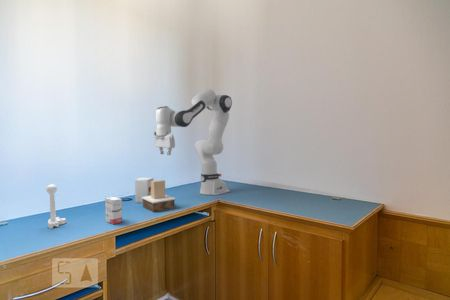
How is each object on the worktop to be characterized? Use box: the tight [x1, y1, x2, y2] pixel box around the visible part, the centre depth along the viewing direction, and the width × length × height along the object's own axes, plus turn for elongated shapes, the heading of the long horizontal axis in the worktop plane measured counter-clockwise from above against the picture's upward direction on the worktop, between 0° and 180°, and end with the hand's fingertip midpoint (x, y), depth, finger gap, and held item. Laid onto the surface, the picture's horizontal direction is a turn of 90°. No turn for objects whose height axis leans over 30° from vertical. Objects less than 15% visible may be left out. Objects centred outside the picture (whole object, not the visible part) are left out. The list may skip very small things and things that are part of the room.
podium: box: [142, 194, 176, 213], centre depth 172 cm, size 14×16×6 cm
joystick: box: [45, 184, 67, 230], centre depth 142 cm, size 11×8×20 cm
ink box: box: [104, 196, 123, 225], centre depth 146 cm, size 9×5×12 cm, turn 48°
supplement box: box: [134, 177, 155, 204], centre depth 187 cm, size 9×9×15 cm
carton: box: [151, 179, 166, 199], centre depth 171 cm, size 7×4×10 cm, turn 128°
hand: (165, 154), depth 182 cm, fingers open, 8 cm apart
